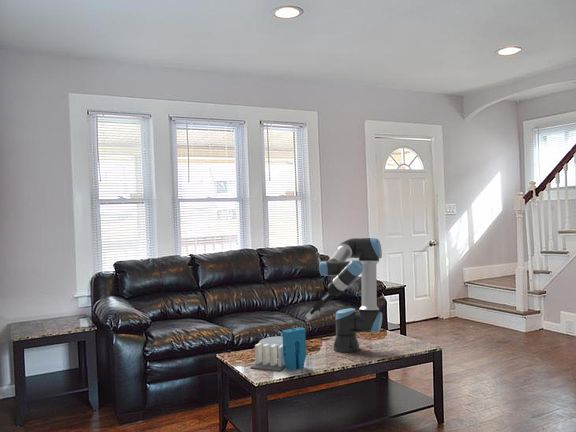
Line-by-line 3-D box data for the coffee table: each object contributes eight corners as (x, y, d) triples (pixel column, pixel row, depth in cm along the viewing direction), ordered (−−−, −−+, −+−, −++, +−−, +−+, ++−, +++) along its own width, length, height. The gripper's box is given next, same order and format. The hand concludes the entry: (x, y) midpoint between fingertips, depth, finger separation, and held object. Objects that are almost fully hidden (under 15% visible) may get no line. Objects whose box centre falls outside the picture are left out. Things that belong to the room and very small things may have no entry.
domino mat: (292, 362, 276) (292, 361, 276) (279, 371, 261) (279, 370, 261) (263, 359, 283) (263, 358, 283) (250, 368, 268) (250, 366, 268)
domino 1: (262, 361, 277) (261, 343, 277) (258, 364, 272) (257, 345, 272) (259, 361, 278) (259, 342, 278) (255, 363, 273) (254, 345, 273)
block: (301, 364, 272) (300, 327, 272) (307, 366, 268) (306, 328, 268) (282, 369, 265) (281, 330, 265) (288, 371, 261) (286, 332, 261)
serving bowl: (275, 345, 312) (275, 334, 312) (302, 350, 299) (302, 339, 298) (252, 353, 296) (251, 342, 296) (279, 359, 282) (279, 347, 282)
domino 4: (285, 363, 272) (284, 345, 272) (281, 366, 267) (280, 347, 267) (282, 363, 272) (281, 344, 272) (278, 366, 268) (277, 347, 268)
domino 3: (277, 363, 273) (276, 344, 273) (273, 365, 269) (272, 346, 269) (274, 362, 274) (274, 344, 274) (270, 365, 270) (270, 346, 269)
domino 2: (269, 362, 275) (269, 343, 275) (265, 365, 271) (265, 346, 271) (267, 362, 276) (266, 343, 276) (263, 364, 271) (262, 345, 271)
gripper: (339, 293, 249) (307, 325, 256) (346, 289, 261) (316, 320, 268) (328, 282, 251) (297, 314, 258) (336, 278, 263) (307, 309, 270)
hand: (307, 317), depth 263 cm, fingers closed
